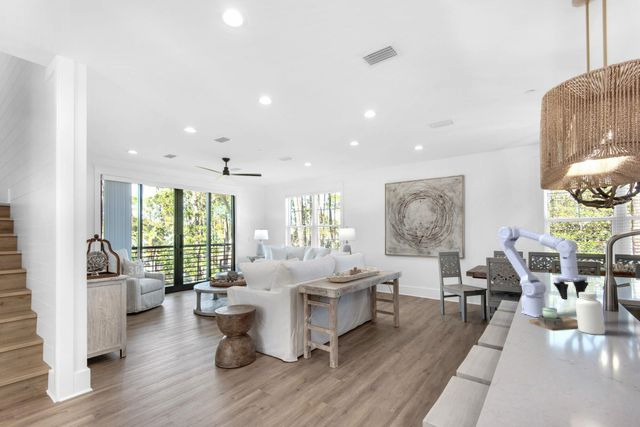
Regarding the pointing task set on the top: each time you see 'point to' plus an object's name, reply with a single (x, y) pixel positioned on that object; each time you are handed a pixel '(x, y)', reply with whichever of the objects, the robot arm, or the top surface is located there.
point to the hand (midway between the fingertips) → (572, 298)
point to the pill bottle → (589, 314)
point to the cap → (549, 313)
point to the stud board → (555, 323)
